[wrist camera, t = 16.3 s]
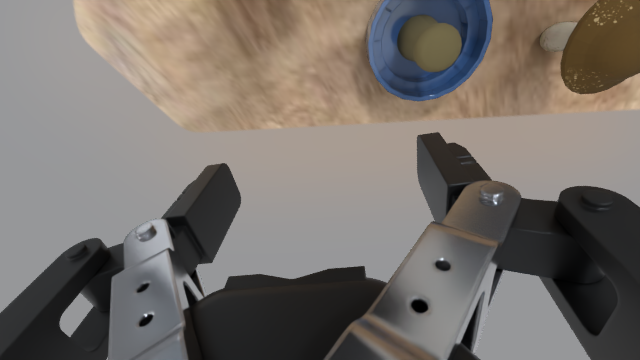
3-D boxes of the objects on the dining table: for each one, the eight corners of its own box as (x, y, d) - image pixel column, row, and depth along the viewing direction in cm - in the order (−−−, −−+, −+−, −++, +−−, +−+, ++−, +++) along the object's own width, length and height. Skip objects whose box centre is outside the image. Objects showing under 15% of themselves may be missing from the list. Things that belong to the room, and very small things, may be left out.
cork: (431, 64, 42) (456, 82, 33) (391, 57, 42) (406, 74, 33) (447, 18, 39) (480, 24, 29) (404, 11, 39) (423, 14, 29)
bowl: (360, -13, 38) (362, -15, 33) (480, -41, 36) (500, -47, 31) (370, 97, 46) (374, 108, 41) (469, 80, 43) (484, 90, 39)
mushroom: (611, -14, 36) (755, -21, 24) (561, 77, 42) (654, 111, 30) (540, -22, 36) (646, -33, 24) (500, 71, 42) (568, 101, 30)
